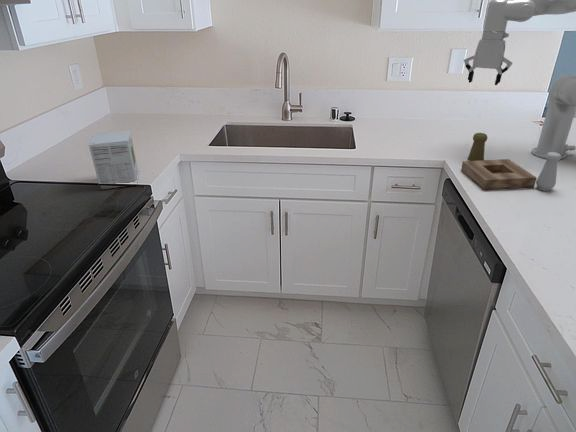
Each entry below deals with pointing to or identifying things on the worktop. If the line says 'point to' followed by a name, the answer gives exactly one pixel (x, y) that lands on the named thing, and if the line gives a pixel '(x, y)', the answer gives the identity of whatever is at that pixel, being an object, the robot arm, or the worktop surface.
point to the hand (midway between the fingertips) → (483, 83)
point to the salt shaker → (548, 172)
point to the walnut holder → (498, 174)
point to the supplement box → (114, 157)
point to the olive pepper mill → (478, 147)
